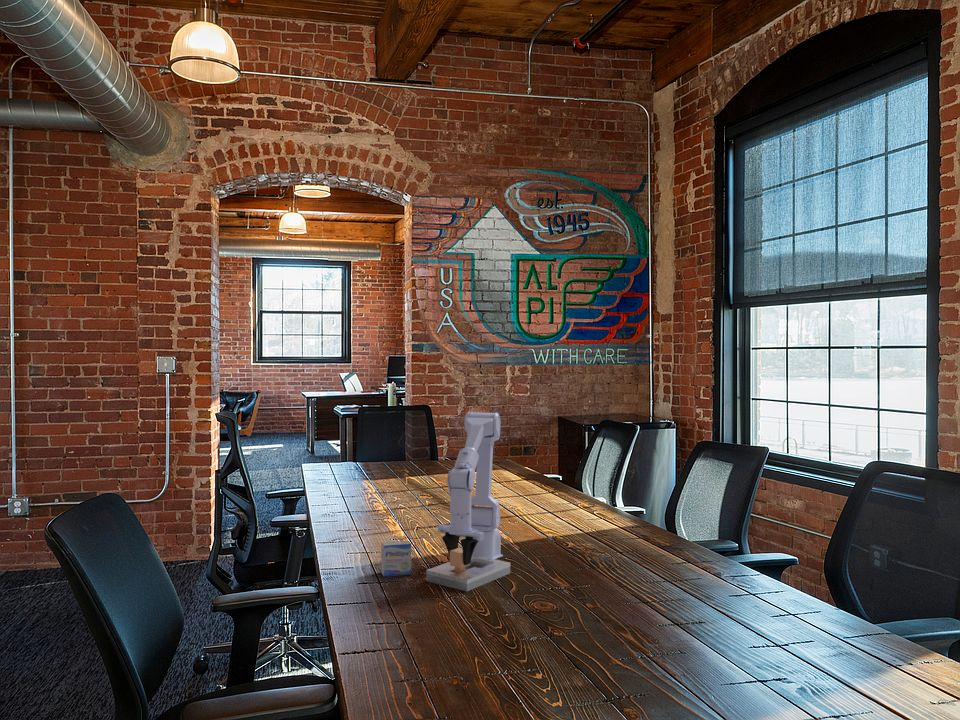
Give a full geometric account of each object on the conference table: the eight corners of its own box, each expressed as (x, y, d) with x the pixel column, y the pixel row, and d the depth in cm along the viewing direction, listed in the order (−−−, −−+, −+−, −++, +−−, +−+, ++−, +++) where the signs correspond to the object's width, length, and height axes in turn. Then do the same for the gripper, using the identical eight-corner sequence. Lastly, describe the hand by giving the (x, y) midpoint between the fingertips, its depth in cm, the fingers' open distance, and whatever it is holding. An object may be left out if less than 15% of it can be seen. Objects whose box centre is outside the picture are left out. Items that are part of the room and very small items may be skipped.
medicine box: (383, 577, 206) (383, 545, 206) (380, 572, 211) (381, 541, 211) (411, 575, 209) (411, 544, 208) (408, 570, 213) (408, 539, 213)
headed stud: (458, 575, 207) (458, 547, 207) (472, 579, 204) (473, 550, 204) (446, 580, 203) (447, 550, 203) (461, 583, 200) (461, 554, 200)
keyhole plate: (470, 564, 219) (470, 554, 219) (510, 573, 211) (510, 562, 211) (426, 581, 203) (426, 570, 203) (467, 591, 195) (467, 580, 195)
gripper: (430, 511, 205) (430, 561, 205) (473, 519, 196) (472, 571, 196) (447, 507, 210) (446, 555, 210) (488, 514, 202) (488, 564, 202)
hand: (460, 562), depth 204 cm, fingers closed on headed stud, 4 cm apart
